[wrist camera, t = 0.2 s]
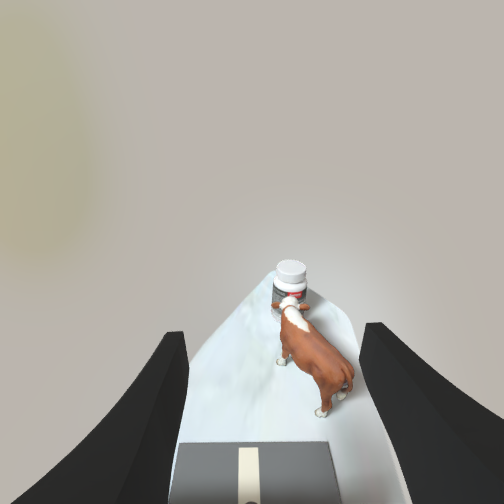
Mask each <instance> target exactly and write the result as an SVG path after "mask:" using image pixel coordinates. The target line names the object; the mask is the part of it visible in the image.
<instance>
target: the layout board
mask: <svg viewBox="0 0 504 504" xmlns="http://www.w3.org/2000/svg"><path fill="white" fill-rule="evenodd" d="M250 501H253V502H256V503H257V504H341V500H340V495H339V491H338V487H337V482H336V478H335V474H334V469H333V465H332V461H331V456H330V452H329V448H328V444H327V442H242V443H179V448H178V453H177V459H176V464H175V470H174V476H173V481H172V487H171V493H170V498H169V504H246V503H247V502H250Z"/></svg>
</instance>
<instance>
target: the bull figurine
mask: <svg viewBox="0 0 504 504" xmlns="http://www.w3.org/2000/svg"><path fill="white" fill-rule="evenodd" d="M271 306H272V308H274V309H278V308H281V309H282V314H281V332H280V340H281V342H282V344H283V345H282V352H281V358H280V359H277V361H276V363H277V365H281V366H282V365H284V366H285V365H286V359H287V358H288V357H289V354H291V356H292V358H293V360H294V362H295V364H296V365H297V366H298V368H300V369H301V370H302V371H304V372H306V373H307V374H309V375H312V376H313V378H314V380H315V382H316V383H317V385H318V387H319V389H320V394H321V399H322V406H321V407H320V408H318V409H317V410H315V415H316V416H317V417H321V416H322V417H323V418H324V417H326V416H327V412H328V410H329V409H331V408H332V402H331V398H332V395H333V394H335V393H336V392H337V398H338V400H343V399H344V398H345V397H346V396H347V394H348V392H350V391H351V390H352V387H353V382H352V379H353V378H354V369H353V367H352V366H351V364H350V363H349V362H348V361H347V360H346V359H345V358H344V357H343V356H342V355H341V354H340V352H339V351H338V350H337V349H336V348H335V347H334V346H332V345H331V344H330V343H329V342H328V341H327V340H326V339H325V338H324V337H323V336H322V335H321V334H320V333H319V332H318V331H317V330H316V329H315V327H314V326H313V325H312V324H311V323H310V322H309V321H308V320H306V319H305V318H303V316H302V315H301V313H300V312H299V311H298V310H303V311H305V310H309V308H310V306H309V305H307V304H298V300H297V299H296V298H295V297H292V296H288V297H286V298H284V299H283V300H282V303H280V302H273V303H272V304H271ZM343 385H348V387H347V388H342V387H343Z"/></svg>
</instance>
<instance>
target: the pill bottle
mask: <svg viewBox="0 0 504 504" xmlns="http://www.w3.org/2000/svg"><path fill="white" fill-rule="evenodd" d="M276 274H277V275H276V276H275V277H274V280H273V293H272V303H273V302H280V303H282V300H283V299H284V298H286V297H288V296H292V297H295V298H296V299H297V300H298V304H305V297H306V289H307V280H306V278H305V277H306V266H305V265H304V264H303V263H302V262H299V261H296V260H284V261H281V262H279V263H278V264H277V270H276ZM298 311H299V312H300V313H301V315H302V316H303V314H304V311H303V310H298ZM271 314H272V317H273V318H274V319H275V320H276V321H277V322H279V323H281V314H282V309H281V308H278V309H274V308H272V309H271Z"/></svg>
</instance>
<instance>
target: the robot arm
mask: <svg viewBox="0 0 504 504" xmlns="http://www.w3.org/2000/svg"><path fill="white" fill-rule="evenodd" d="M359 362H360V366H361V369H362V373H363V376H364V379H365V382H366V385H367V388H368V390H369V392H370V395H371V397H372V399H373V401H374V404H375V406H376V408H377V411H378V413H379V415H380V417H381V420H382V422H383V424H384V426H385V429H386V431H387V433H388V435H389V437H390V440H391V442H392V445H393V447H394V450H395V452H396V455H397V458H398V461H399V464H400V467H401V470H402V472H403V475H404V478H405V481H406V484H407V488H408V491H409V494H410V497H411V500H412V503H413V504H504V419H502V418H500V417H499V416H497V415H496V414H494V413H493V412H491V411H490V410H488V409H486V408H485V407H484V406H482V405H480V404H479V403H478V402H476V401H475V400H474V399H472V398H471V397H469V396H468V395H467V394H465V393H464V392H462V391H461V390H460V389H458V388H456V386H454V385H453V384H452V383H451V382H449V381H448V380H447V379H445V378H444V377H443V376H442V375H440V374H439V373H438V372H437V371H436V370H434V369H433V368H432V367H431V366H430V365H428V364H427V363H426V362H425V361H424V360H423V359H421V358H420V357H419V356H418V355H417V354H416V353H415V352H413V351H412V350H411V349H410V348H409V347H408V346H407V345H406V344H405V343H404V342H402V341H401V340H400V339H399V338H398V337H397V336H396V335H395V334H394V333H393V332H392V331H391V330H389V329H388V328H387V327H386V326H385V325H384V324H383V323H382V322H378V323H366V327H365V332H364V336H363V341H362V346H361V351H360V356H359ZM188 377H189V363H188V357H187V351H186V345H185V340H184V334H183V331H178V332H167V333H166V334H165V335H164V337H163V339H162V340H161V342H160V343H159V345H158V347H157V348H156V350H155V352H154V353H153V355H152V356H151V358H150V359H149V361H148V362H147V363H146V365H145V366H144V368H143V369H142V371H141V372H140V373H139V375H138V376H137V378H136V379H135V381H134V382H133V383H132V384H131V386H130V387H129V388H128V389H127V391H126V392H125V393H124V395H123V396H122V397H121V399H120V400H119V401H118V402H117V403H116V404H115V406H114V407H113V408H112V409H111V410H110V412H109V413H108V414H107V415H106V416H105V417H104V418H103V419H102V420H101V422H100V423H99V424H98V425H97V426H96V427H95V428H94V429H93V430H92V431H91V432H90V433H89V434H88V435H87V437H85V438H84V440H82V441H81V443H79V444H78V445H77V446H76V447H75V448H74V449H73V450H72V451H71V452H70V453H69V454H68V455H67V456H66V457H65V458H64V459H62V460H61V461H60V462H59V463H58V464H57V465H56V466H55V467H54V468H53V469H51V470H50V471H49V472H48V473H47V474H46V475H45V476H44V477H42V478H41V479H40V480H39V481H38V482H37V483H36V484H34V485H33V486H32V487H31V488H29V489H28V490H27V491H26V492H24V493H23V494H22V495H21V496H20V497H18V498H17V499H16V500H15V501H13V502H12V503H11V504H168V495H169V487H170V479H171V471H172V464H173V458H174V452H175V448H176V443H177V438H178V434H179V429H180V424H181V419H182V415H183V410H184V405H185V400H186V395H187V387H188Z"/></svg>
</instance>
